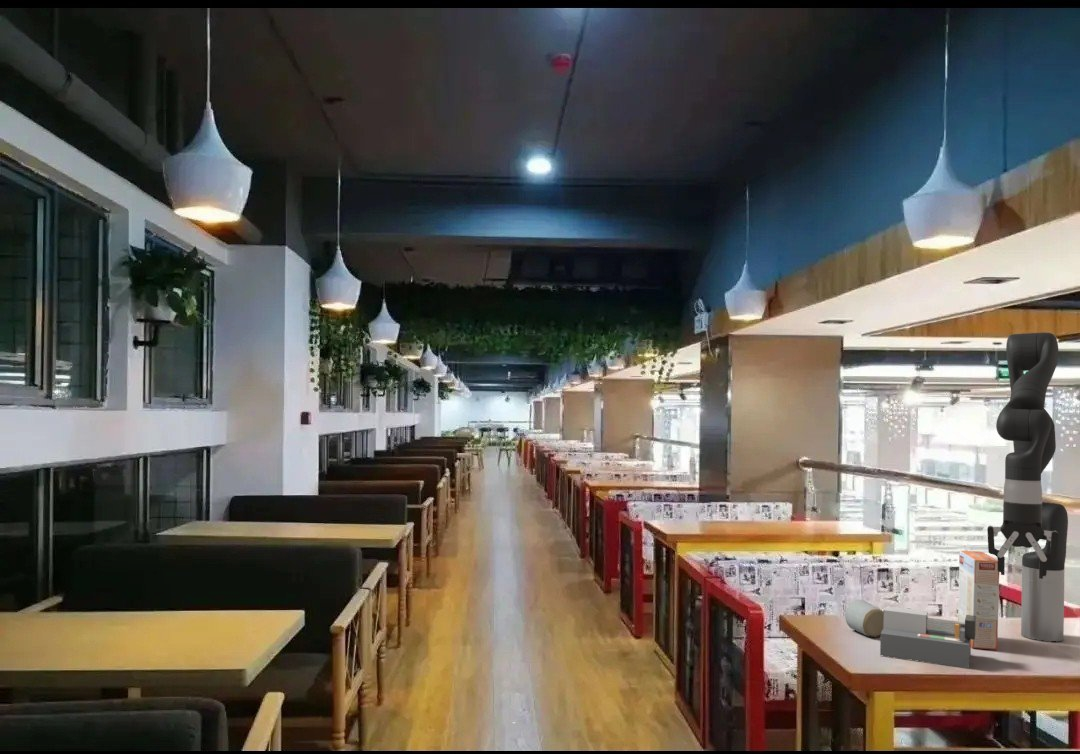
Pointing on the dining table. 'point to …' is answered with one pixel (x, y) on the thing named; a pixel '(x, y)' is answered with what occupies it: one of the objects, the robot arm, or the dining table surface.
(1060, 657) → the dining table surface
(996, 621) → the cracker box
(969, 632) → the plunger
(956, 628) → the orange rectangular prism
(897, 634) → the gauge housing
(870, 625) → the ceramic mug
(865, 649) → the dining table surface
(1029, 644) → the dining table surface
